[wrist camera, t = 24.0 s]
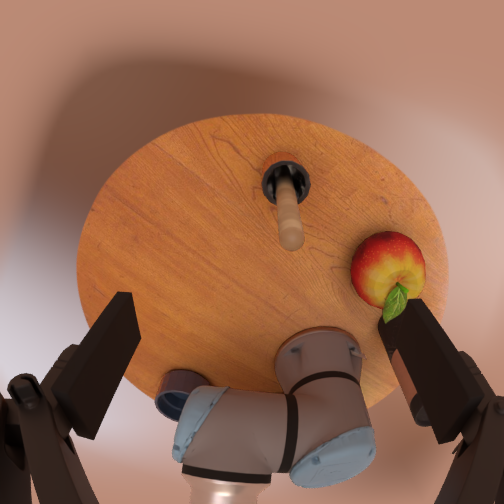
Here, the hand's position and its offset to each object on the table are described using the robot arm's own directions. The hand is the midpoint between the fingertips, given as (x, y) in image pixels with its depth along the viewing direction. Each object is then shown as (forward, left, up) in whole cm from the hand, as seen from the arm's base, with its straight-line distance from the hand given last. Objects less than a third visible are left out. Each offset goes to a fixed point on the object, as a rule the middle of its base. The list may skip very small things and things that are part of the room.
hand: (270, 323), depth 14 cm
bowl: (-38, +14, -30) cm, 50 cm away
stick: (+2, -2, -29) cm, 29 cm away
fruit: (-10, -17, -30) cm, 36 cm away
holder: (+2, -2, -30) cm, 30 cm away
